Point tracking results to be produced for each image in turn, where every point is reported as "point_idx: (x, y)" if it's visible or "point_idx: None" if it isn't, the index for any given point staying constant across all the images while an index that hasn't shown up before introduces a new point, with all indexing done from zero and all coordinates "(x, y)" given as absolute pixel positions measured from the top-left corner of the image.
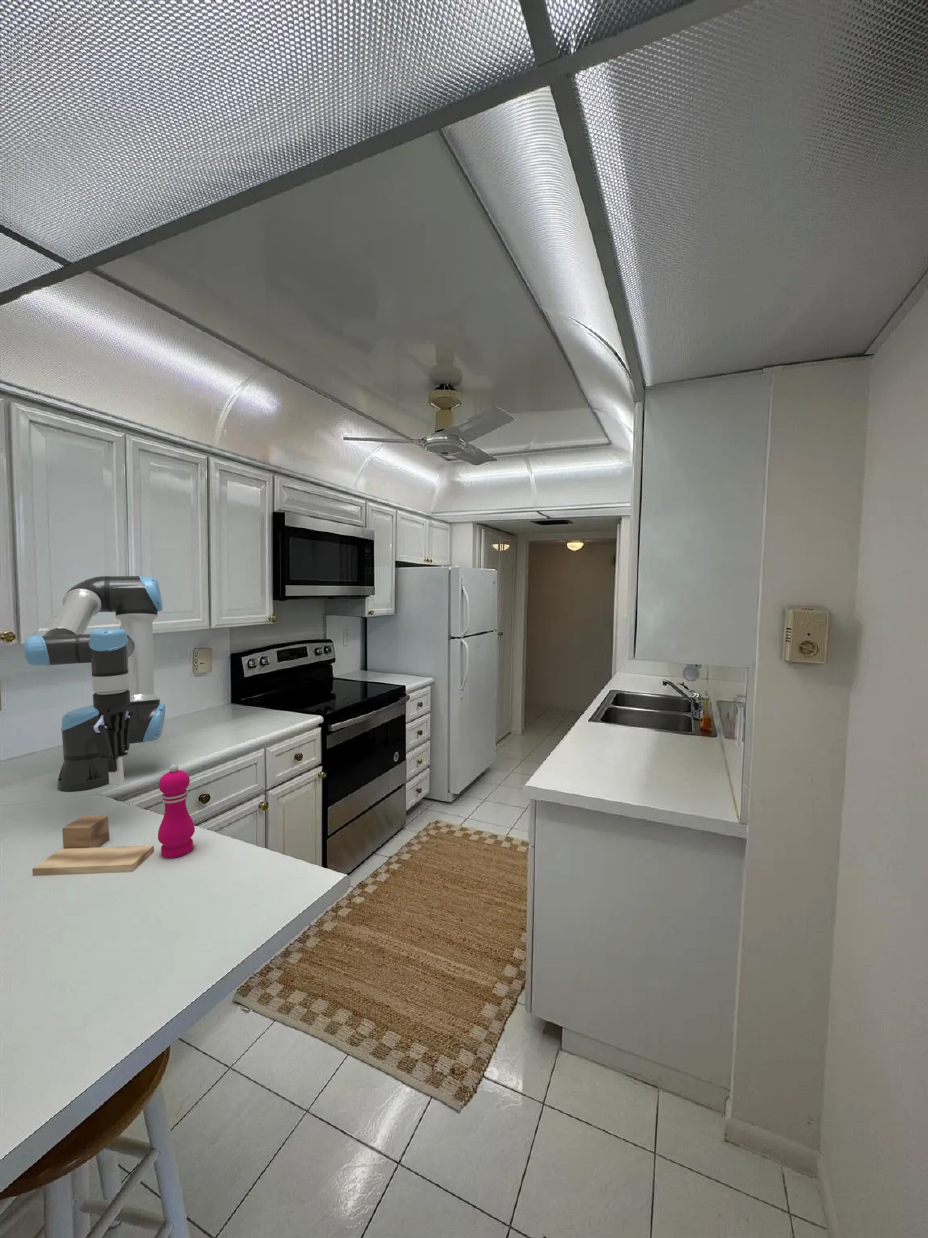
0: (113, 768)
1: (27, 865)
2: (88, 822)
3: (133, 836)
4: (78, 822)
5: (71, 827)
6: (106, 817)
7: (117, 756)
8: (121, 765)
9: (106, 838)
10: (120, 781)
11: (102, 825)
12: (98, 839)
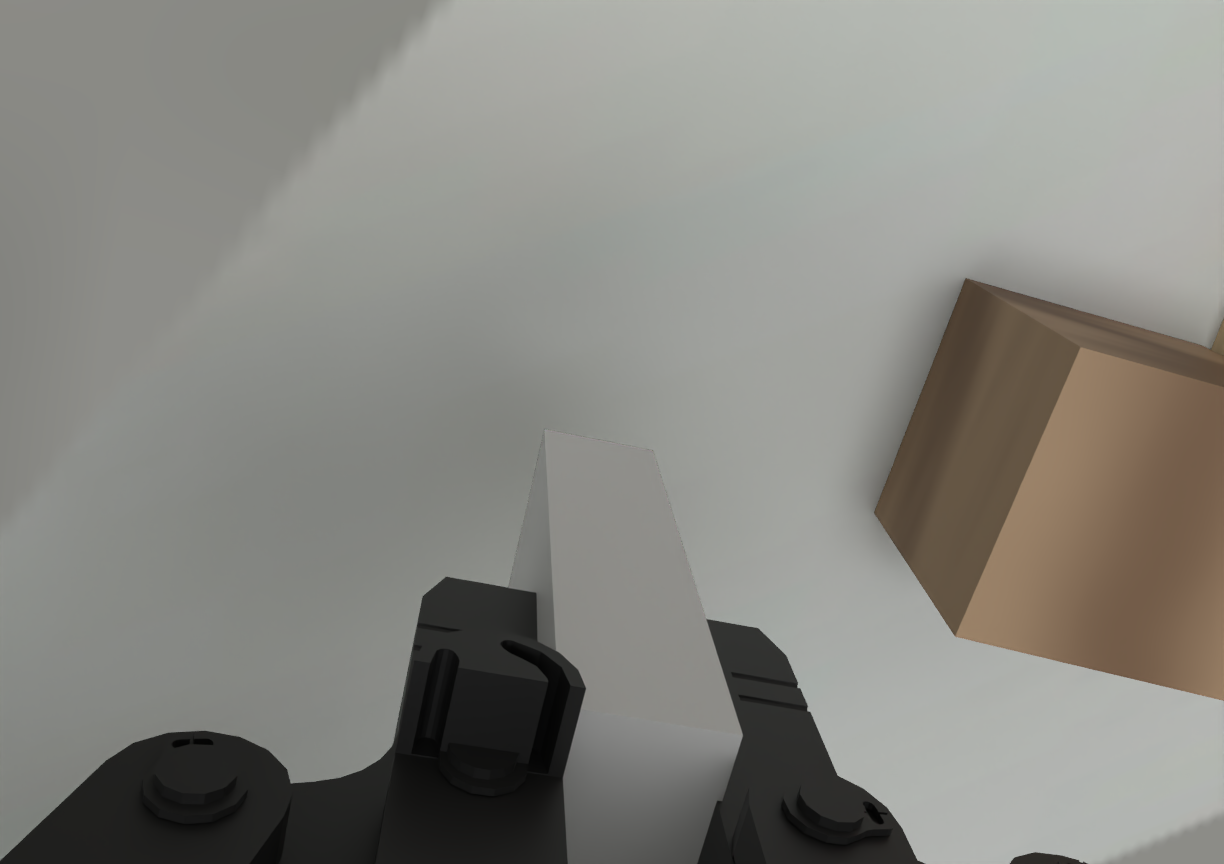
0: (797, 688)
1: (1194, 739)
2: (1203, 497)
3: (972, 50)
4: (1144, 605)
5: None
6: (1102, 353)
7: (818, 804)
8: (620, 592)
9: (1017, 296)
10: (651, 462)
11: (1137, 353)
12: (1139, 337)
